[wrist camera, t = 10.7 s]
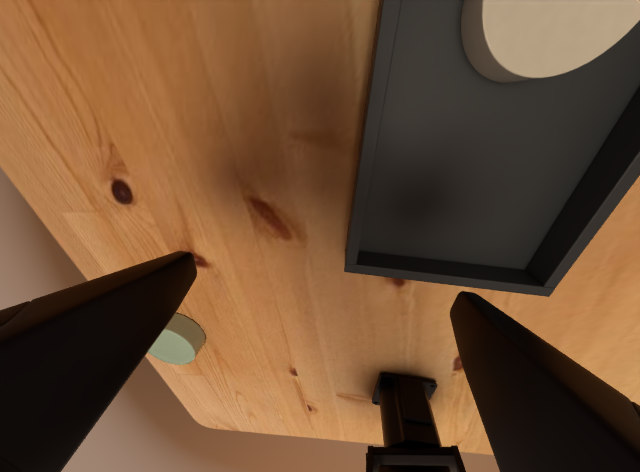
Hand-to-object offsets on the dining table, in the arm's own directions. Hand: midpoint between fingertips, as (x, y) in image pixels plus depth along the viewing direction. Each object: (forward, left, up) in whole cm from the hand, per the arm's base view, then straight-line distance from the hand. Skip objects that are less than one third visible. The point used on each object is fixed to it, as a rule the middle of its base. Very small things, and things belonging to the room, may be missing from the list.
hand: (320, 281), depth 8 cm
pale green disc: (-20, +17, -11) cm, 28 cm away
